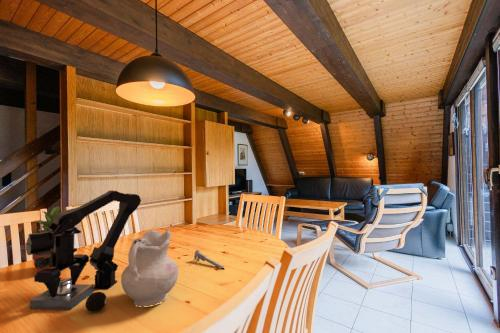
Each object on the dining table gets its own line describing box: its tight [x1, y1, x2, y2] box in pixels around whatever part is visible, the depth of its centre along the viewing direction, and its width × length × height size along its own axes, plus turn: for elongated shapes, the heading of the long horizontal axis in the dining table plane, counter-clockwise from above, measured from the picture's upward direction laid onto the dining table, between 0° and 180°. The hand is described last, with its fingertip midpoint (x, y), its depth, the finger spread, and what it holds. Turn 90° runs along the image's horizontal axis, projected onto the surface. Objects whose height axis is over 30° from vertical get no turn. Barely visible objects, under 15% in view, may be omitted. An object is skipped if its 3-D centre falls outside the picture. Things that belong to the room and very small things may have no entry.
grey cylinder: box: [56, 277, 72, 296], centre depth 90 cm, size 4×4×7 cm
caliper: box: [193, 249, 225, 268], centre depth 124 cm, size 20×1×6 cm, turn 56°
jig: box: [29, 283, 95, 311], centre depth 90 cm, size 14×12×3 cm
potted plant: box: [31, 204, 68, 272], centre depth 117 cm, size 15×15×30 cm
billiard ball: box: [85, 291, 108, 313], centre depth 83 cm, size 6×6×6 cm
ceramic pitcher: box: [120, 229, 179, 308], centre depth 90 cm, size 22×20×25 cm
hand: (63, 290), depth 90 cm, fingers open, 9 cm apart
